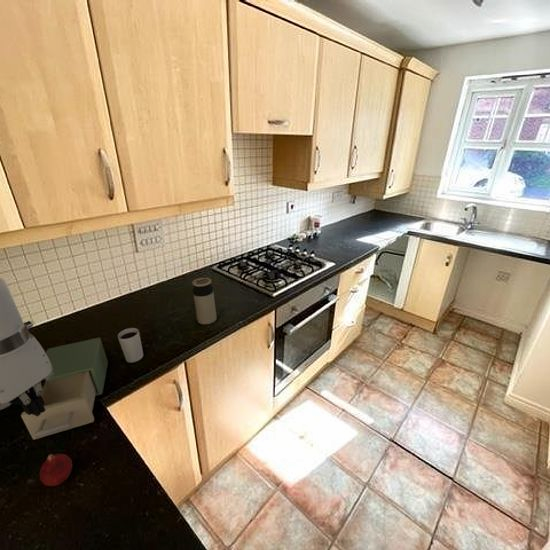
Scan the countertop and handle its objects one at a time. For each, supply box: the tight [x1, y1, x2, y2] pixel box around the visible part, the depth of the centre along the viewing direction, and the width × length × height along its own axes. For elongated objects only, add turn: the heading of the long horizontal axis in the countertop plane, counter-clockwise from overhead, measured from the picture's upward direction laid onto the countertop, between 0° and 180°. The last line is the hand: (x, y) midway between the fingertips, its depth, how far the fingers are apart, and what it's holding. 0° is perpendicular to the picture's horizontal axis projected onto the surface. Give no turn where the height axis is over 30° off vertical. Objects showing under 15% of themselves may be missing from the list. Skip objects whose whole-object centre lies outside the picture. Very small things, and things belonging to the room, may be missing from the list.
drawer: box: [20, 371, 97, 441], centre depth 80 cm, size 20×14×8 cm
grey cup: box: [117, 327, 144, 363], centre depth 104 cm, size 7×7×10 cm
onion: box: [39, 453, 73, 487], centre depth 66 cm, size 6×6×8 cm
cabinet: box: [45, 337, 109, 397], centre depth 93 cm, size 16×15×10 cm
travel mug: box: [191, 277, 218, 325], centre depth 123 cm, size 8×8×18 cm
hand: (37, 411), depth 64 cm, fingers closed
